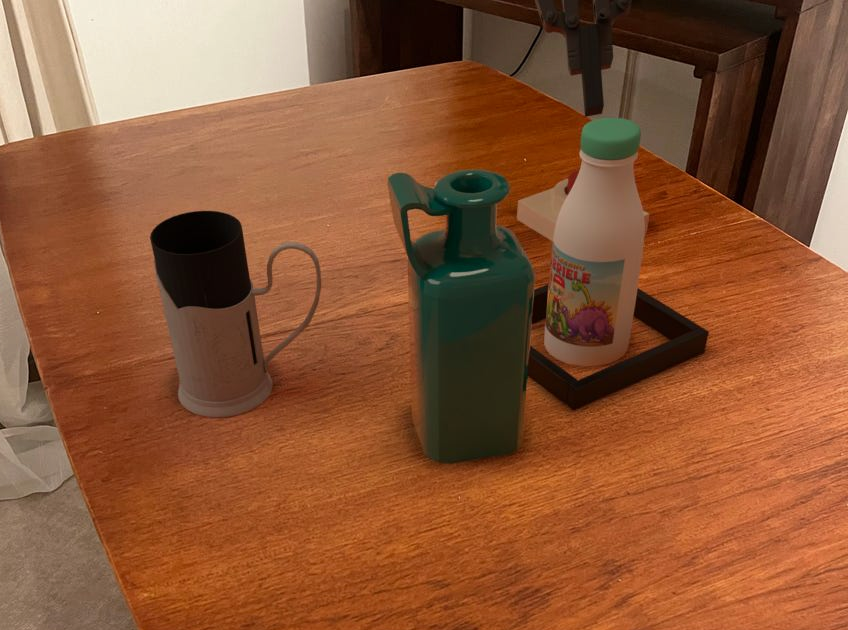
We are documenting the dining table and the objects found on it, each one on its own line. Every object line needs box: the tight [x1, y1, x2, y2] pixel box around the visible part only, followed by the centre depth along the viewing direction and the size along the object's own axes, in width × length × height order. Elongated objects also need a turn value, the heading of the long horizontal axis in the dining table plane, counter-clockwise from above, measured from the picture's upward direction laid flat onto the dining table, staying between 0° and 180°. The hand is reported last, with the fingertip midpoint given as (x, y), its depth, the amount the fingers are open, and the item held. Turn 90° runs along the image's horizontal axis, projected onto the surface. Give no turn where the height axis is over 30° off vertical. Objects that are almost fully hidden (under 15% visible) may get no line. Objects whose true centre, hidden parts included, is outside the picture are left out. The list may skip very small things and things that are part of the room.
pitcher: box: [387, 168, 536, 464], centre depth 78 cm, size 10×8×22 cm
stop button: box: [567, 169, 580, 195], centre depth 107 cm, size 4×4×2 cm
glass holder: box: [149, 210, 322, 418], centre depth 88 cm, size 9×14×15 cm, turn 88°
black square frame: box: [528, 283, 710, 411], centre depth 93 cm, size 15×15×3 cm
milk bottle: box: [543, 116, 646, 367], centre depth 87 cm, size 8×8×20 cm
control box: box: [516, 178, 650, 242], centre depth 109 cm, size 11×9×4 cm
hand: (594, 111), depth 89 cm, fingers closed
